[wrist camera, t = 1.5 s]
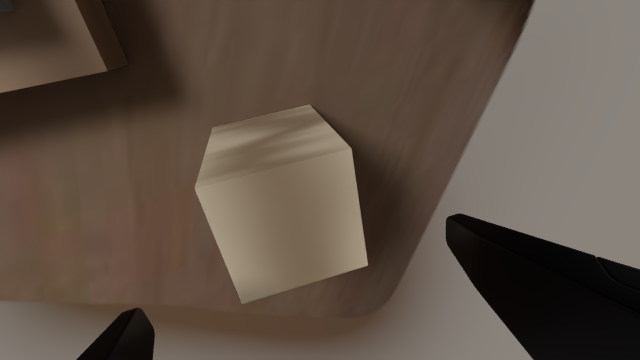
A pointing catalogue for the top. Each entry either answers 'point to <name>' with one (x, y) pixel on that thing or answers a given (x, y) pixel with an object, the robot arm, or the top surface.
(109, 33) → the brown wooden flat tray
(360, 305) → the top surface
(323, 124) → the birch block
